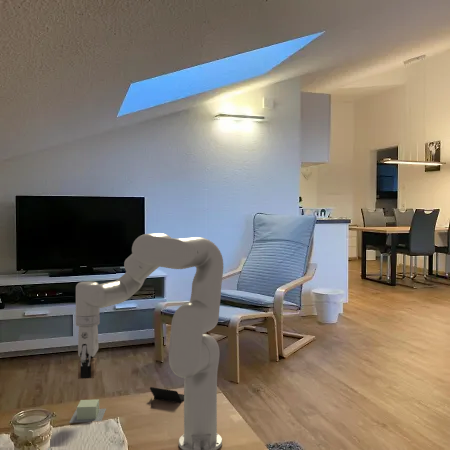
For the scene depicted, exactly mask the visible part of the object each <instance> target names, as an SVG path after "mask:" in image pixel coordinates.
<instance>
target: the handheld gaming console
mask: <svg viewBox="0 0 450 450" xmlns="http://www.w3.org/2000/svg"><path fill="white" fill-rule="evenodd" d="M149 390H150V392H151V394H152V396H153V400H154V399H155V400H160V401H165V402H172V403H178V404H182V403H184V393H179V392H178V391H177V390H173V389H172V390H171V389H165V388H157V387H153V386H150V387H149Z"/></svg>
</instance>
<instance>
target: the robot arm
mask: <svg viewBox="0 0 450 450" xmlns="http://www.w3.org/2000/svg"><path fill="white" fill-rule="evenodd" d="M123 263H124V264H123V265H124V266H123V267H124V269H125V273H124V274H123V275H121V276H119V278H118V279H117V280H113V281H108V282H104V283H99V282H98V281H91V280H90V281H89V280H88V281H80V282H78V283H77V284H76V285H75V326H76V327H78V333H77V334H78V339H77V340H78V341H77V342H78V343H77V349H78V350H77V352H78V353H77V354H78V357H80V360H81V378H87V379H92V378H91V365H90V358H95V356H96V354H97V352H98V351H99V330H98V329H99V328H98V327H99V325H100V324H101V322H100V318H101V317H100V316H101V315H100V313H101V312H100V310H101V309H105V308H107V307H111V306H115V305H118V304H122V303H125V302H126V301H127V300H129V299H130V298H131V297H132V296H133V295H134V294H136V293H137V292H138V291H139V290H141V288H142V286H143V285H144V282H145V280H146V279H147V278H148V277H149V276H150V275H151V274H153V273H154V272H155V271H156V270H157V269H158V268H164V269H165V268H166V269H174V270H184V269H189V268H196V269H195V272H194V273H195V274H194V276H193V279H192V283H191V293H190V300H189V302H187V303H183V304H182V305H180V306H179V307H178V308H177V309H176V310H175V312H174V314H173V316H172V318H171V324H170V336H169V345H168V346H169V347H168V348H169V349H168V364H169V367H170V369H171V371H172V372H173V374H174V375H175V376H176V377H178V378H180V379H184V384H183V395H184V401H183V434H182V435H181V436H180V437H179V438H178V446H179V448H180V449H181V450H218V449H220V448H221V447H222V446H223V437H222V436H221V435H220V434H219V433H217V432H218V427H217V426H218V412H217V411H218V403H217V402H218V400H217V399H218V396H217V392H218V372H219V371H218V370H219V362H220V355H221V354H220V347H219V344H218V341H217V340H216V338H214V337H213V336H212V335H210V334H207V333H208V332H209V331H212V330H213V329H215V327H216V326H217V325H218V322H219V318H220V310H221V309H220V305H221V299H222V298H221V296H222V284H223V277H224V259H223V255H222V253H221V250H220V248H219V247H218V246H217V245H216V244H215V243H214V242H213V241H211V240H210V239H207V238H205V237H200V236H193V237H183V238H175V237H174V238H173V237H172V236H170V235H168V234H166V233H163V232H162V233H161V232H157V233H144V234H142V235H139V236H138V237H137V238H135V240H134V241H133V243H132V246H131V254H130V255H129V256H128V257H127V258H125V260H124V262H123ZM86 358H88V360H87V359H86Z"/></svg>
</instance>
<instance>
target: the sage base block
mask: <svg viewBox="0 0 450 450" xmlns="http://www.w3.org/2000/svg"><path fill="white" fill-rule="evenodd" d="M99 409H100V399H80V400H79V402H78V405H77V406H76V410H77V420H82V419H96V418H97V415H98V413H99Z"/></svg>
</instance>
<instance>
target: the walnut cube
mask: <svg viewBox="0 0 450 450" xmlns="http://www.w3.org/2000/svg"><path fill="white" fill-rule="evenodd" d="M86 359H87V360H88V358H86ZM97 360H98V357H97V358H95V357H94V358H90V365H91V378H90V379H95V377H96V376H97V374H98V370H97V368H98V367H97V366H98V361H97ZM77 379H81V380H83V379H88V378H81V359H79V361H78V363H77Z"/></svg>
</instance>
